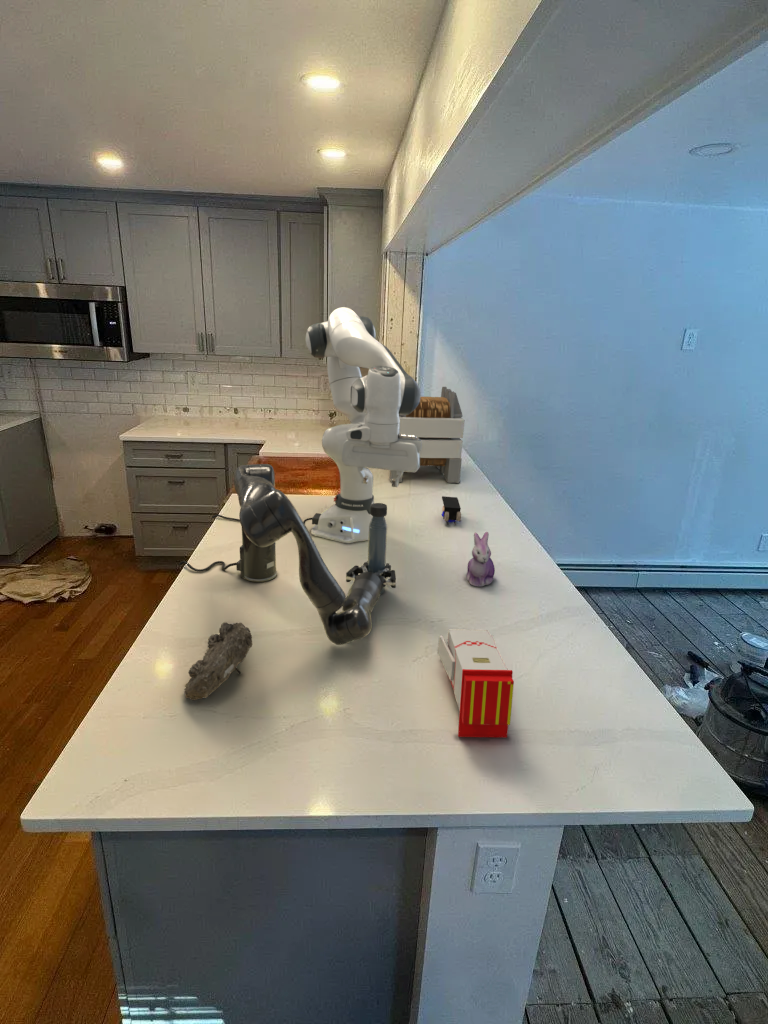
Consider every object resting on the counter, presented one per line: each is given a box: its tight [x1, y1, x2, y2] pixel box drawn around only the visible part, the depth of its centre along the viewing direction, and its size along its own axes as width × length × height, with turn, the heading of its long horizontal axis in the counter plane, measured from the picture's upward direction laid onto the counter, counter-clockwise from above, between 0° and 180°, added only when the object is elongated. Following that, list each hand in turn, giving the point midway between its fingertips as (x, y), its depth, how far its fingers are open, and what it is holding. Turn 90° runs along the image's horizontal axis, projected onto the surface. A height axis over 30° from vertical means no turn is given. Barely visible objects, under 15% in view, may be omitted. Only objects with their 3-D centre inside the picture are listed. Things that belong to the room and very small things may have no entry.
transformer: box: [388, 386, 465, 484], centre depth 268 cm, size 34×33×41 cm
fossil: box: [183, 622, 253, 701], centre depth 120 cm, size 22×10×15 cm
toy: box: [437, 628, 515, 738], centre depth 117 cm, size 12×13×30 cm
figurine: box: [466, 531, 496, 587], centre depth 165 cm, size 9×10×15 cm
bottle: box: [367, 516, 388, 595], centre depth 155 cm, size 5×5×25 cm
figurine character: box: [441, 495, 462, 526], centre depth 214 cm, size 7×8×15 cm
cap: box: [370, 502, 388, 517], centre depth 151 cm, size 4×4×2 cm
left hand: (378, 565), depth 159 cm, fingers closed on bottle, 5 cm apart
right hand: (379, 484), depth 149 cm, fingers open, 7 cm apart
